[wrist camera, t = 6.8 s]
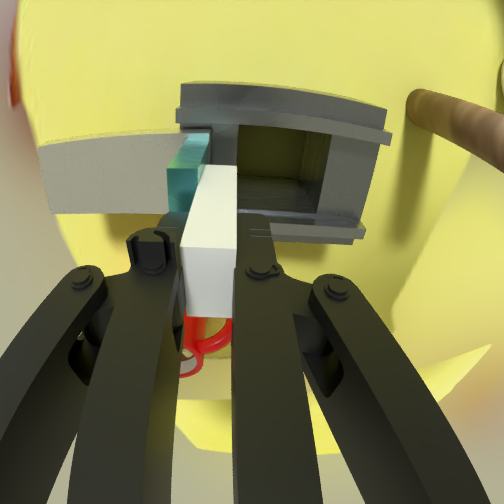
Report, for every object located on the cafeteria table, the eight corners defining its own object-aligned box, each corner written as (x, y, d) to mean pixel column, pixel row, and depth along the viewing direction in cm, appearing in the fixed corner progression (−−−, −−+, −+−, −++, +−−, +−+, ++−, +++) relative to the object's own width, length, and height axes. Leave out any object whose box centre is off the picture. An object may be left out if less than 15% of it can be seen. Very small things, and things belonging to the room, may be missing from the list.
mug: (252, 307, 32) (255, 366, 25) (162, 328, 34) (152, 381, 27) (226, 256, 27) (224, 318, 21) (127, 285, 29) (107, 341, 23)
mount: (196, 81, 18) (176, 84, 12) (351, 98, 19) (396, 112, 13) (194, 198, 23) (180, 247, 18) (330, 206, 24) (357, 254, 19)
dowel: (409, 83, 17) (516, 116, 8) (439, 95, 18) (540, 136, 8) (402, 120, 20) (501, 174, 10) (432, 130, 20) (527, 187, 10)
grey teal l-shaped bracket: (47, 141, 13) (-8, 175, 9) (211, 129, 14) (198, 158, 10) (59, 205, 16) (17, 252, 12) (209, 205, 17) (199, 262, 12)
